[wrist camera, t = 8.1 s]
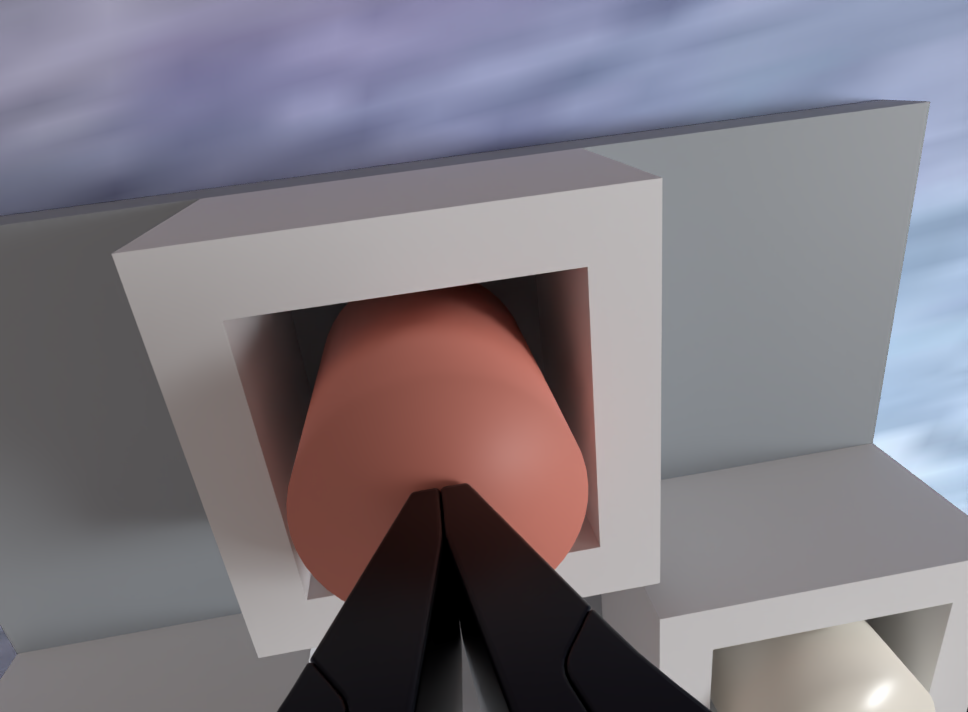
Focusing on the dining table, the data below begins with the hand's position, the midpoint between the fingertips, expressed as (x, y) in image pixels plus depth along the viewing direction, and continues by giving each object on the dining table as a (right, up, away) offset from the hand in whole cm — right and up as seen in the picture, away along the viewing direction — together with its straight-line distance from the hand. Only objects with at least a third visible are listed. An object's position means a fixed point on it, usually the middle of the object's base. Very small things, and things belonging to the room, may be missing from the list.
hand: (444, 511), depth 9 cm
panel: (0, -2, +9) cm, 10 cm away
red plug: (-1, +2, +5) cm, 5 cm away
